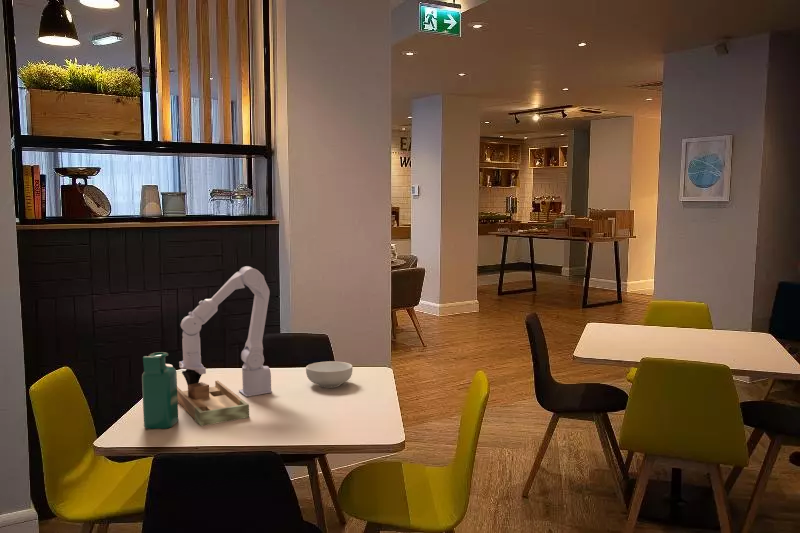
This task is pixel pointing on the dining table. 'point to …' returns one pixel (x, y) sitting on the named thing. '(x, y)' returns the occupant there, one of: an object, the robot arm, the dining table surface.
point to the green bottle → (159, 392)
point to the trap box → (214, 405)
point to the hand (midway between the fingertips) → (193, 391)
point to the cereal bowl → (329, 373)
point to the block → (198, 390)
